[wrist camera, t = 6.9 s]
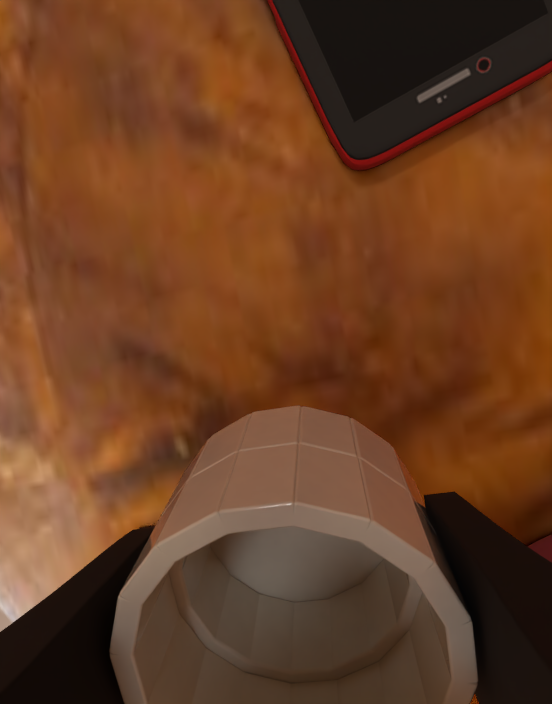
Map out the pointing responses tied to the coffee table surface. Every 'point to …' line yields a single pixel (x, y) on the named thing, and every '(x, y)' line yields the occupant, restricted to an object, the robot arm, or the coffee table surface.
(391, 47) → the cell phone
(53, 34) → the coffee table surface
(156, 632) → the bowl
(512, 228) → the coffee table surface
